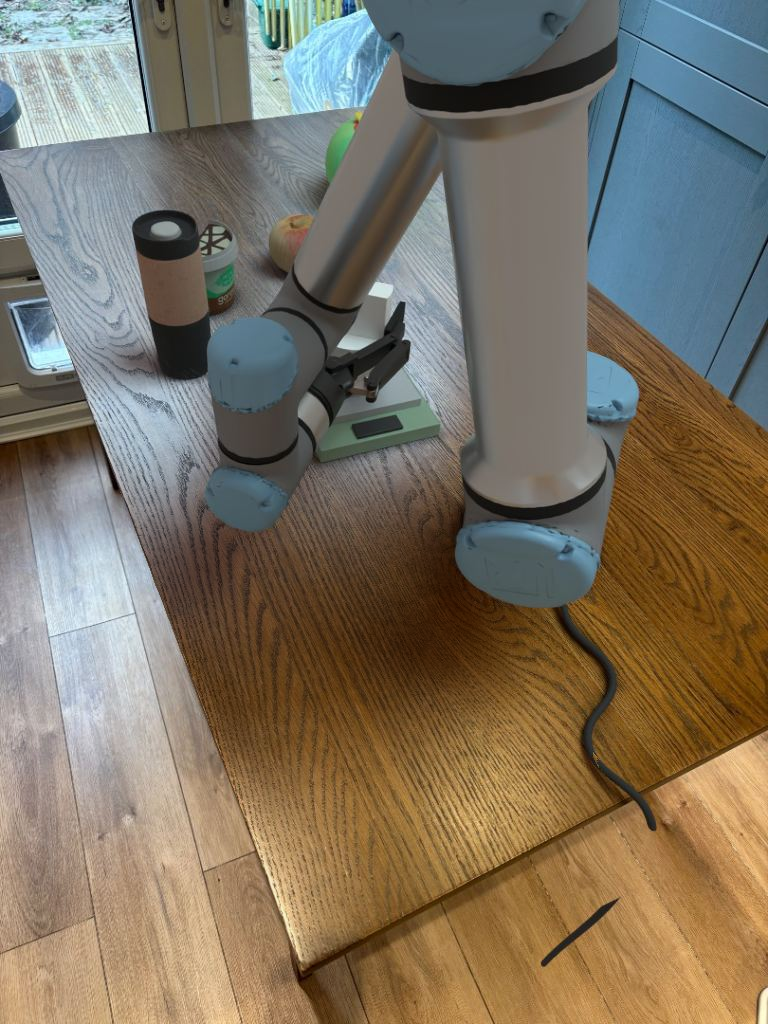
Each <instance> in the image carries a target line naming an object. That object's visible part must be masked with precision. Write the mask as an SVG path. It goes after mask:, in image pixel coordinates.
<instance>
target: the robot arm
mask: <svg viewBox="0 0 768 1024" xmlns="http://www.w3.org/2000/svg"><path fill="white" fill-rule="evenodd" d="M361 2H362V4H363V6H364V8H365V11H366V13H367V15H368V17H369V19H370V21H371V23H372V25H373V27H374V29H375V30H376V31H377V33H378V35H379V36H380V38H381V39H382V40H383V41H384V42H387V43H388V44H389V46H390V47H391V48H392V50H391V53H390V55H389V57H388V59H387V61H386V63H385V65H384V68H383V70H382V72H381V74H380V76H379V78H378V81H377V83H376V85H375V87H374V89H373V91H372V92H371V93H372V94H371V96H370V97H369V99H368V102H367V104H366V106H365V108H364V110H363V112H362V113H363V115H362V117H361V119H360V121H359V123H358V125H357V128H356V130H355V132H354V134H353V136H352V138H351V140H350V143H349V145H348V147H347V149H346V151H345V153H344V155H343V157H342V160H341V162H340V164H339V166H338V168H337V170H336V172H335V175H334V177H333V179H332V181H331V183H329V185H328V187H327V190H326V192H325V194H324V196H323V197H322V199H321V203H320V205H319V206H318V209H317V211H316V213H315V215H314V220H313V222H312V224H311V226H310V228H309V230H308V232H307V234H306V237H305V239H304V241H303V243H302V245H301V247H300V249H299V252H298V254H297V256H296V258H295V260H294V263H293V265H292V267H291V269H290V271H289V273H288V272H287V274H286V277H285V279H284V281H283V284H282V285H281V288H280V289H279V292H278V293H277V295H276V296H275V298H274V299H273V301H272V302H271V303H270V304H269V305H268V307H266V310H264V312H263V313H262V314H261V315H260V316H259V317H258V316H245V317H240V318H236V319H233V320H232V322H231V324H223V325H220V326H219V327H218V328H217V329H216V330H215V331H214V332H213V333H211V337H210V340H209V342H208V346H207V360H208V372H207V375H206V378H207V385H208V388H209V392H210V397H211V405H212V410H213V417H214V422H215V428H216V435H217V447H218V453H219V461H218V462H219V463H218V464H217V466H216V468H214V469H213V470H212V471H211V474H210V477H209V479H208V481H207V484H206V485H205V488H204V499H205V501H206V504H207V506H208V508H209V510H210V511H211V512H212V514H213V515H214V516H215V517H217V519H219V520H220V521H221V522H222V523H224V524H226V525H227V526H229V527H232V528H233V529H235V530H236V529H238V530H241V531H244V532H246V533H261V532H262V533H263V532H265V531H267V530H269V529H271V528H272V527H273V526H274V525H275V524H276V523H277V521H278V519H279V518H280V516H281V515H282V513H283V512H284V511H285V509H286V508H288V506H289V505H290V504H291V499H292V497H293V495H294V493H295V491H296V489H297V487H298V486H299V484H300V482H301V480H302V479H303V477H304V475H305V473H306V471H307V469H308V467H309V465H310V463H311V462H312V460H313V458H314V456H315V454H316V451H317V449H318V447H319V446H320V444H321V442H322V440H323V438H324V437H325V435H326V433H327V431H328V429H329V428H330V426H331V424H332V423H333V421H334V419H335V417H336V415H337V414H338V412H339V410H340V408H341V406H342V404H343V402H344V400H346V399H347V398H349V397H350V396H352V395H353V394H357V395H362V396H366V401H367V402H368V403H374V402H375V401H376V399H377V396H378V393H379V391H380V390H381V389H382V388H383V387H384V386H385V385H386V383H387V382H388V381H389V380H390V379H391V378H392V377H393V376H394V375H395V374H396V373H397V372H398V371H399V370H400V369H401V368H402V367H403V368H404V366H405V365H406V364H407V363H408V362H409V361H410V355H411V346H412V342H411V340H410V339H404V337H405V332H406V323H405V322H404V321H405V315H406V305H407V304H406V303H407V302H406V301H402V300H400V301H399V302H398V304H397V306H396V307H395V309H394V311H393V313H391V318H390V320H389V322H388V323H387V325H386V327H385V329H384V337H382V338H380V339H379V340H377V341H375V342H373V343H371V344H370V345H368V346H366V347H364V348H362V349H360V350H359V351H357V352H355V353H353V354H352V353H350V352H349V353H347V354H345V355H343V356H341V357H336V356H330V355H331V354H332V353H333V351H334V350H335V348H336V347H337V346H338V344H339V343H340V341H341V340H342V338H343V337H344V336H345V335H346V334H347V333H348V331H349V330H350V328H351V327H352V325H353V324H354V322H355V320H356V318H357V316H358V313H359V311H360V308H361V306H362V304H363V302H364V300H365V299H366V297H367V295H368V294H369V292H370V290H371V289H372V287H373V285H374V284H375V282H377V280H378V279H379V277H380V275H382V272H383V271H384V268H385V267H386V266H387V264H388V262H389V261H390V259H391V257H392V255H393V254H394V252H395V250H396V249H397V247H398V246H399V244H400V242H401V240H402V239H403V237H404V236H405V234H406V232H407V230H408V229H409V227H410V226H411V224H412V222H413V221H414V219H415V217H416V216H417V214H418V212H419V210H420V209H421V207H422V206H423V204H424V203H425V200H426V199H427V197H428V195H429V194H430V193H431V191H432V189H433V187H434V185H436V182H437V180H439V179H438V178H440V176H441V174H442V181H443V190H444V198H445V205H446V213H447V223H448V230H449V237H450V245H451V254H452V262H453V269H454V270H453V271H454V278H455V284H456V285H455V287H456V293H457V303H458V307H459V317H460V324H461V332H462V333H461V334H462V341H463V349H464V358H465V364H466V365H465V366H466V373H467V381H468V389H469V396H470V405H471V412H472V420H473V421H472V422H473V428H474V432H473V434H471V435H470V437H469V438H468V439H467V440H466V442H465V443H464V445H463V446H462V450H461V453H460V460H459V461H460V462H459V463H460V465H459V467H460V475H461V482H462V488H463V496H464V503H465V509H464V513H463V519H462V528H460V530H458V532H457V535H456V539H455V540H456V541H455V542H456V546H455V549H454V558H455V562H456V565H457V567H458V570H459V571H460V573H461V574H462V575H463V576H464V578H465V579H466V580H467V581H468V583H470V584H472V585H473V586H474V587H475V588H476V589H478V590H480V591H482V592H484V593H486V594H487V595H488V596H489V597H492V598H494V599H496V600H499V601H502V602H505V603H508V604H510V605H514V606H520V607H525V608H533V609H549V608H550V609H552V608H559V610H560V614H561V616H562V619H563V622H564V624H565V625H566V627H567V629H568V630H569V632H570V634H572V635H573V636H574V638H575V639H576V640H577V641H578V642H579V643H580V644H581V645H583V646H584V647H585V648H586V649H587V650H588V651H589V652H591V653H592V654H593V655H594V656H595V657H596V659H598V660H599V662H601V663H602V665H603V667H604V669H605V671H606V674H607V676H608V687H607V691H606V694H605V696H604V697H603V698H602V699H601V701H600V703H598V705H597V706H596V708H595V709H594V711H592V713H591V714H590V715H589V716H588V719H587V720H586V723H585V725H584V728H583V735H582V736H583V737H582V739H583V746H584V749H585V751H586V754H587V756H588V758H589V760H590V761H591V763H592V764H593V765H594V767H595V768H596V769H597V770H599V772H600V773H601V774H602V775H603V776H605V778H607V777H608V778H609V779H608V778H607V779H608V780H609V781H610V782H612V783H613V782H614V783H613V784H614V785H615V786H617V787H618V786H619V787H618V788H619V789H621V790H622V791H623V792H624V793H626V795H628V796H629V797H630V798H631V799H632V800H633V801H634V802H635V804H637V806H638V807H639V809H640V811H641V812H642V814H643V816H644V818H645V823H646V826H647V828H648V829H649V830H650V831H651V832H656V831H657V828H658V826H657V821H656V818H655V815H654V813H653V810H652V808H651V806H650V805H649V803H648V802H647V801H646V799H645V798H644V797H643V796H642V795H641V794H640V793H639V792H638V791H637V790H636V789H635V788H634V787H633V786H632V785H631V784H629V783H628V782H627V781H626V780H624V779H623V778H622V777H620V776H619V775H618V774H616V773H615V772H614V771H613V770H611V769H610V768H609V767H608V766H607V765H606V764H605V763H604V762H603V761H602V760H601V759H600V758H599V756H598V754H597V752H596V749H595V747H594V745H593V744H594V743H593V731H594V727H595V725H596V724H597V722H598V720H599V718H600V717H601V716H602V714H604V712H605V710H606V709H607V708H608V707H609V705H610V704H611V703H612V702H613V699H614V697H615V695H616V692H617V689H618V688H617V687H618V680H617V678H618V677H617V673H616V670H615V668H614V666H613V664H612V662H611V661H610V660H609V658H608V657H607V656H606V655H605V653H604V652H602V650H601V649H600V648H599V647H597V646H596V645H595V644H594V643H592V642H591V641H590V640H589V639H588V638H587V637H586V636H585V635H584V634H582V633H581V631H580V630H579V629H578V628H577V626H576V625H575V624H574V622H573V620H572V618H571V615H570V613H569V609H568V604H571V603H575V602H577V601H579V600H580V599H582V598H583V597H584V596H586V594H588V592H589V591H590V590H591V588H592V586H593V585H594V581H595V578H596V575H597V573H598V572H599V570H600V568H601V564H602V561H601V554H602V549H603V544H604V539H605V533H606V528H607V523H608V517H609V512H610V507H611V502H612V497H613V491H614V486H615V479H616V475H617V470H618V465H619V461H620V457H621V451H622V446H623V443H624V439H625V436H626V434H627V431H628V428H629V425H630V423H631V421H632V420H633V419H634V418H635V416H636V415H637V406H638V403H639V398H640V389H639V386H638V384H637V381H636V380H635V378H634V377H633V376H632V374H630V372H628V370H627V369H625V368H623V367H622V366H620V365H619V364H618V362H615V361H614V360H612V359H610V358H609V357H606V356H604V355H601V354H599V353H596V352H592V351H589V350H588V260H589V259H588V257H589V256H588V253H589V252H588V247H589V246H588V241H589V240H588V239H589V237H588V236H589V235H588V234H589V232H588V231H589V229H588V227H589V225H588V223H589V222H588V218H589V217H588V213H589V212H588V211H589V210H588V209H589V208H588V207H589V205H588V204H589V203H588V202H589V106H590V104H591V101H592V100H594V98H595V97H596V96H597V95H598V93H599V92H600V91H601V90H602V89H603V88H604V86H605V85H606V84H607V83H609V81H610V80H611V78H612V77H613V76H614V75H615V73H616V71H617V68H618V60H619V59H618V54H619V53H618V52H619V51H618V50H619V23H620V21H619V19H620V0H361ZM373 367H374V368H373ZM371 368H373V369H372V370H371V372H370V374H369V375H364V378H363V379H362V380H361V381H360V382H355V381H356V380H357V378H358V376H359V375H361V374H363V373H364V372H366V371H368V370H370V369H371ZM593 752H594V754H595V755H596V756H597V757H598V758H599V759H600V760H599V759H598V758H597V759H598V760H597V761H598V762H597V764H598V765H599V768H598V766H597V764H596V762H595V760H594V758H593ZM601 770H602V771H601ZM602 772H603V773H604V774H605V775H604V774H603V773H602ZM620 899H621V897H616V898H615V899H613V900H611V901H609V902H607V903H604V904H603V905H600V906H599V908H598V909H597V910H595V912H594V913H593V914H592V915H591V916H590V917H588V918H587V919H586V920H585V921H584V922H583V923H582V924H580V925H579V926H578V927H577V928H576V929H575V930H574V931H572V932H571V933H569V935H567V936H566V937H565V938H564V939H563V940H562V941H561V942H560V943H558V944H557V945H556V946H555V947H554V948H553V949H552V950H551V951H550V952H548V954H547V955H545V957H544V958H542V960H540V966H541V967H543V968H545V967H547V966H548V964H550V963H551V962H552V961H553V960H554V959H555V958H556V957H557V956H558V955H559V954H560V953H562V952H563V951H564V950H565V949H566V948H567V947H569V946H570V945H571V944H572V943H574V942H575V941H577V940H578V939H579V938H580V937H581V936H583V935H584V934H585V933H586V932H587V931H589V930H590V929H591V928H592V927H593V926H594V925H596V923H598V922H599V921H600V920H601V919H602V918H603V917H604V916H605V915H606V914H608V912H610V911H611V910H612V908H613V907H614V906H615V905H616V904H617V903H618V901H619V900H620Z"/></svg>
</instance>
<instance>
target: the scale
mask: <svg viewBox="0 0 768 1024" xmlns="http://www.w3.org/2000/svg"><path fill="white" fill-rule="evenodd" d="M440 428H441V422H440V420H439V419H438V418H437V416H436V414H435V413H434V411H433V410H432V408H431V407H430V405H429V404H428V403H427V401H426V399H425V398H424V396H423V394H422V393H421V392H420V391H419V389H418V388H417V386H416V385H415V383H414V381H413V380H412V378H411V377H410V376H409V374H408V372H407V371H406V369H405V368H404V366H403V367H402V368H401V369H400V370H399V371H398V372H397V373H396V374H395V375H394V376H393V377H392V378H391V379H390V380H389V381H388V382H387V383H386V385H385V386H384V387H383V388H382V389H381V390H380V391H379V393H378V396H377V399H376V401H375V402H374V403H368V402H367V401H366V396H362V395H357V394H353V395H352V396H350V397H349V398H347V399H346V400H344V402H343V404H342V406H341V408H340V410H339V412H338V414H337V415H336V417H335V419H334V421H333V423H332V424H331V426H330V428H329V429H328V431H327V433H326V435H325V437H324V438H323V440H322V442H321V444H320V446H319V447H318V449H317V451H316V453H315V454H316V456H317V458H318V460H319V462H320V463H321V464H322V463H326V462H330V461H331V462H332V461H334V460H339V459H343V458H347V457H351V456H356V455H361V454H365V453H368V452H372V451H373V452H374V451H377V450H381V449H385V448H389V447H394V446H398V445H402V444H406V443H411V442H416V441H419V440H424V439H427V438H432V437H436V436H439V435H440V430H441V429H440Z"/></svg>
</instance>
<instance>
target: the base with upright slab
mask: <svg viewBox="0 0 768 1024" xmlns="http://www.w3.org/2000/svg"><path fill="white" fill-rule="evenodd" d="M393 294H394V285H393V284H389V283H384V282H379V281H376V282H375V284H374V285H373V287H372V289H371V290H370V292H369V294H368V295H367V297H366V299H365V300H364V302H363V304H362V306H361V308H360V311H359V313H358V316H357V318H356V320H355V322H354V324H353V325H352V327H351V328H350V330H349V331H348V333H347V334H346V335H345V336H344V337H343V338H342V340H341V341H340V343H339V344H338V346H337V347H336V348H335V350H334V351H333V353H332V354H331V355H330V356H336V357H341V356H343V355H345V354H347V353H349V352H350V353H352V354H353V353H355V352H357V351H359V350H360V349H362V348H364V347H366V346H368V345H370V344H371V343H373V342H375V341H377V340H379V339H380V338H382V337H384V329H385V327H386V325H387V323H388V322H389V320H390V318H391V316H392V307H393V296H394V295H393ZM373 368H374V367H373ZM373 368H371V369H370V370H368V371H366V372H364V373H363V374H361V375H359V376H358V378H357V380H356V381H355V382H360V381H361V380H362V379H363V378H364V375H369V374H370V372H371V370H372V369H373Z"/></svg>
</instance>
